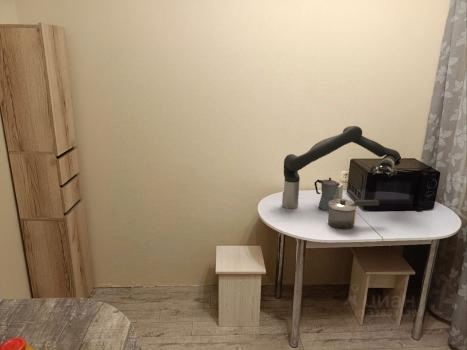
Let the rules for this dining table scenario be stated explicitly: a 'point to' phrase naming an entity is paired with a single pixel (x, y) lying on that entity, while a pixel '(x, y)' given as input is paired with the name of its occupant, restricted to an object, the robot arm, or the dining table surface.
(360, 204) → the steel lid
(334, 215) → the cooker pot
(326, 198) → the moka pot
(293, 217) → the dining table surface
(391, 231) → the dining table surface
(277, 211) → the dining table surface
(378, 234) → the dining table surface
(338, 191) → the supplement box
